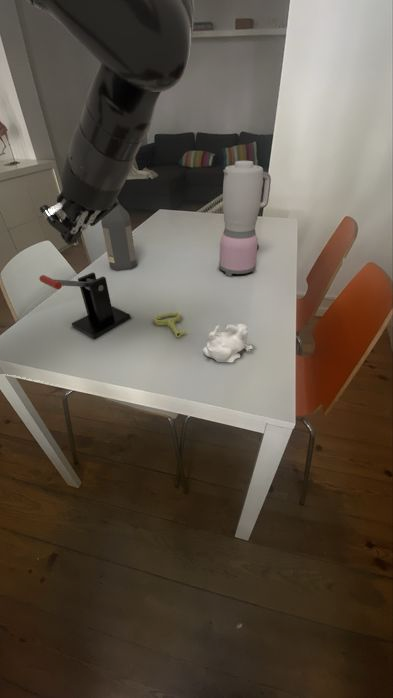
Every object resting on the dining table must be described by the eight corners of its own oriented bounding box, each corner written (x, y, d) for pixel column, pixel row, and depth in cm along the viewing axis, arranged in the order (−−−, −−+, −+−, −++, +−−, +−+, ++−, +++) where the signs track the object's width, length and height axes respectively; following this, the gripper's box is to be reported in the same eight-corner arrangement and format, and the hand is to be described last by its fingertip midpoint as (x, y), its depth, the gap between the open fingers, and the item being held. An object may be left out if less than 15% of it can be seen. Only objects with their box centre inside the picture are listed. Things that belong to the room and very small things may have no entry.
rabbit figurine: (252, 346, 75) (256, 310, 69) (259, 367, 69) (265, 330, 63) (201, 348, 74) (201, 313, 68) (204, 370, 68) (204, 333, 62)
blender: (228, 280, 102) (234, 167, 83) (212, 266, 111) (214, 160, 91) (270, 271, 107) (285, 162, 87) (251, 258, 116) (261, 157, 96)
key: (178, 342, 76) (177, 334, 75) (150, 321, 84) (149, 314, 83) (201, 331, 80) (201, 324, 79) (172, 312, 88) (172, 305, 86)
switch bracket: (94, 339, 78) (81, 292, 70) (72, 327, 82) (58, 282, 74) (130, 318, 85) (123, 273, 77) (109, 308, 90) (99, 265, 82)
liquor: (135, 259, 117) (122, 166, 99) (137, 269, 110) (123, 171, 92) (110, 261, 116) (92, 168, 97) (110, 272, 109) (91, 173, 90)
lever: (54, 291, 66) (55, 280, 66) (38, 283, 69) (39, 272, 69) (104, 293, 77) (106, 283, 76) (89, 286, 80) (91, 277, 79)
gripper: (120, 134, 45) (87, 212, 59) (33, 143, 37) (18, 231, 51) (151, 180, 46) (111, 246, 59) (72, 199, 38) (47, 270, 51)
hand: (68, 239), depth 55 cm, fingers closed
